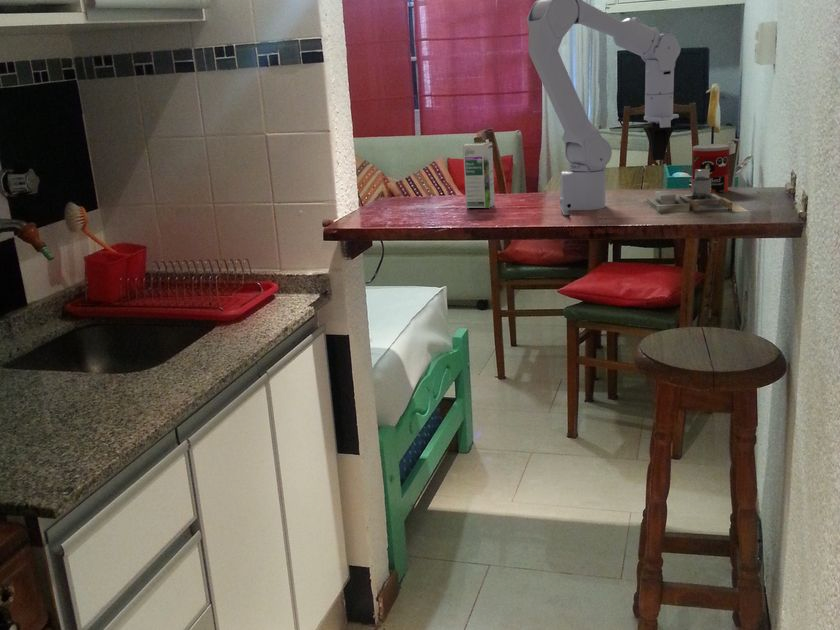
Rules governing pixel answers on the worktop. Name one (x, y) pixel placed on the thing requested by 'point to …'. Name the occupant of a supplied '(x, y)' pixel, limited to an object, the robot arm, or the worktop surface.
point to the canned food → (712, 165)
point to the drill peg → (701, 185)
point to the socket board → (695, 205)
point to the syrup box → (478, 175)
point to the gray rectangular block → (665, 197)
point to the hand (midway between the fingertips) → (658, 159)
